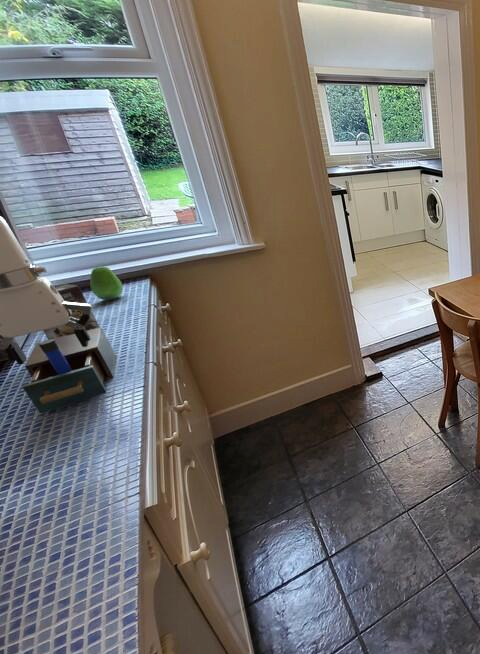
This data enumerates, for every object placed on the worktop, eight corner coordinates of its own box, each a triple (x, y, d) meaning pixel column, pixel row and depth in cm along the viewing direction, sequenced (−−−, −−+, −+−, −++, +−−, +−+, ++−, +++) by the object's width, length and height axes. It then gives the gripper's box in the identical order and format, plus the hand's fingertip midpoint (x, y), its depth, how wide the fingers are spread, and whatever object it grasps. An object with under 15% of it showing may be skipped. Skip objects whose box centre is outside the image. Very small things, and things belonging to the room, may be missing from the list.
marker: (70, 392, 90) (41, 345, 85) (65, 390, 91) (36, 343, 86) (84, 386, 92) (56, 340, 87) (79, 384, 93) (51, 338, 88)
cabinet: (114, 377, 98) (97, 346, 95) (45, 398, 92) (24, 366, 88) (116, 355, 108) (101, 327, 104) (54, 373, 101) (36, 343, 98)
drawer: (105, 401, 88) (90, 375, 85) (36, 424, 82) (17, 396, 79) (109, 369, 100) (96, 345, 97) (49, 387, 94) (33, 362, 91)
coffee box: (66, 352, 111) (34, 298, 104) (53, 349, 113) (20, 295, 106) (106, 336, 118) (79, 285, 111) (93, 333, 120) (65, 283, 114)
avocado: (128, 298, 145) (113, 266, 140) (99, 305, 140) (82, 272, 135) (125, 292, 151) (111, 261, 145) (97, 299, 145) (80, 267, 140)
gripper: (71, 263, 88) (109, 332, 95) (-53, 286, 78) (0, 362, 85) (67, 271, 82) (107, 344, 90) (-67, 297, 73) (-9, 377, 80)
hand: (55, 352), depth 88 cm, fingers open, 9 cm apart
